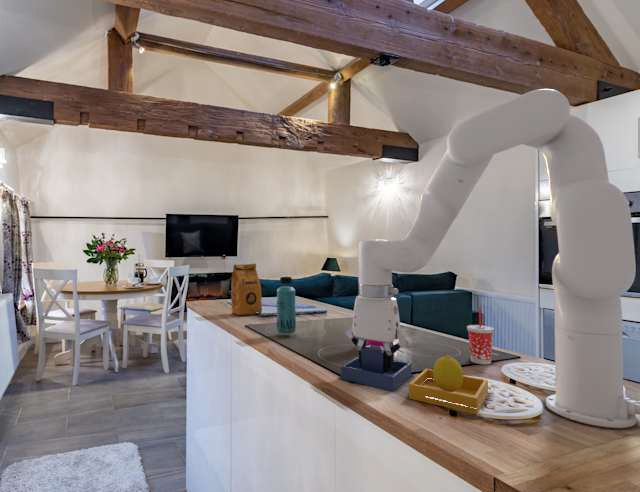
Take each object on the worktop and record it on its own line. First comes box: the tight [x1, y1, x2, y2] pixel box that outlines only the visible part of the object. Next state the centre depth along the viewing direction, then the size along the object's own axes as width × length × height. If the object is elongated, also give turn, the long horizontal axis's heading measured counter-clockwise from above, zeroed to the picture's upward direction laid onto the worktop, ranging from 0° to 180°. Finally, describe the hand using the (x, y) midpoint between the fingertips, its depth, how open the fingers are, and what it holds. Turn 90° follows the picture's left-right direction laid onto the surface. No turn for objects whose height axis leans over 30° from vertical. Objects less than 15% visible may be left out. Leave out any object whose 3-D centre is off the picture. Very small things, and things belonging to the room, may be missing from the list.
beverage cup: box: [466, 307, 495, 365], centre depth 106 cm, size 6×6×14 cm
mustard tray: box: [408, 368, 489, 415], centre depth 84 cm, size 12×12×3 cm
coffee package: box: [230, 263, 263, 316], centre depth 176 cm, size 10×12×22 cm
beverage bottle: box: [276, 276, 297, 335], centre depth 136 cm, size 6×7×20 cm
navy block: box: [361, 345, 386, 374], centre depth 95 cm, size 5×5×5 cm
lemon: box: [432, 354, 464, 392], centre depth 84 cm, size 6×6×8 cm
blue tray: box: [340, 355, 412, 392], centre depth 95 cm, size 12×12×3 cm
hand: (375, 367), depth 95 cm, fingers closed on navy block, 5 cm apart
